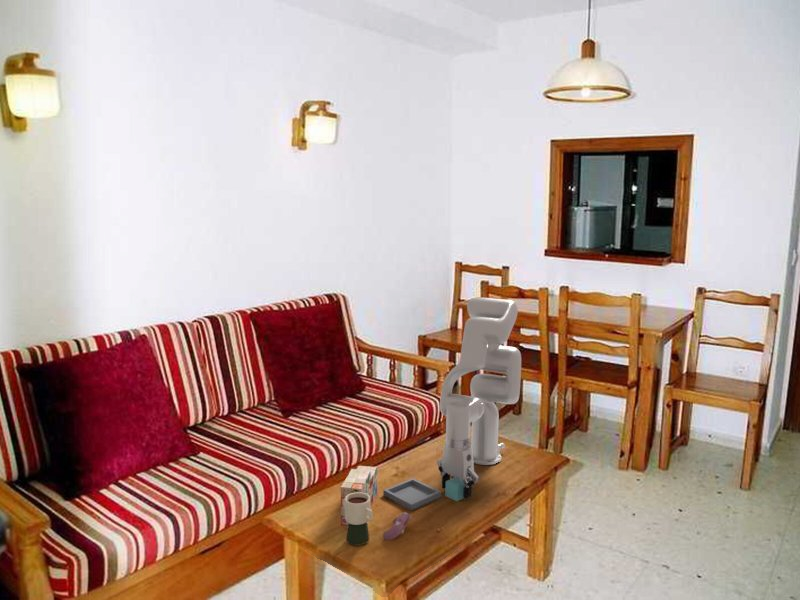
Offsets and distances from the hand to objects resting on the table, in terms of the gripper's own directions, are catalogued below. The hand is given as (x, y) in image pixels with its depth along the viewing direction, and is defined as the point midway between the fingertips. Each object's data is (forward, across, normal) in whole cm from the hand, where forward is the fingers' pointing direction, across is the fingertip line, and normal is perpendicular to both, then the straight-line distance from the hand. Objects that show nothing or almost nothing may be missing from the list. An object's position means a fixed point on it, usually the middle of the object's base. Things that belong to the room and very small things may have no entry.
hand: (456, 492), depth 209 cm
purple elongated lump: (+1, -4, +29) cm, 30 cm away
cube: (+1, 0, 0) cm, 1 cm away
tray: (+1, +9, +11) cm, 14 cm away
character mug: (+1, 0, +41) cm, 41 cm away
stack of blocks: (+2, +14, +28) cm, 32 cm away
